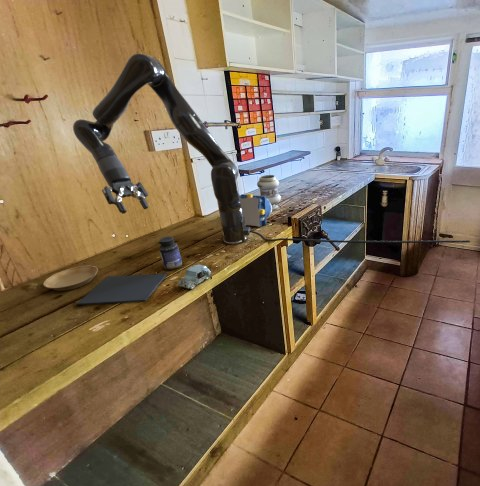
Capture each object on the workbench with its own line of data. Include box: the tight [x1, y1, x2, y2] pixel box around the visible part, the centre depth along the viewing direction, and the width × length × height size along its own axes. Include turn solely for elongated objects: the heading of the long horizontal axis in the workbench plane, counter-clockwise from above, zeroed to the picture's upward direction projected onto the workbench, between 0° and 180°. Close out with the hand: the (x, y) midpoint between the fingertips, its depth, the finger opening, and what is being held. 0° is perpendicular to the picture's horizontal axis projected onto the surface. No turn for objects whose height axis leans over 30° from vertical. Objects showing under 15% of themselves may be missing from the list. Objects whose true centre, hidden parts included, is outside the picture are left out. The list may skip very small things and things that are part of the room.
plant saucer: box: [42, 265, 99, 292], centre depth 105 cm, size 15×15×3 cm
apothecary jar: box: [256, 174, 282, 212], centre depth 171 cm, size 12×12×18 cm
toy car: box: [177, 263, 212, 290], centre depth 102 cm, size 6×10×5 cm, turn 155°
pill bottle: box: [158, 236, 183, 271], centre depth 112 cm, size 6×6×11 cm
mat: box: [76, 273, 168, 306], centre depth 101 cm, size 20×16×1 cm
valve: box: [240, 193, 273, 228], centre depth 153 cm, size 13×15×15 cm
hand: (135, 210), depth 116 cm, fingers open, 8 cm apart
